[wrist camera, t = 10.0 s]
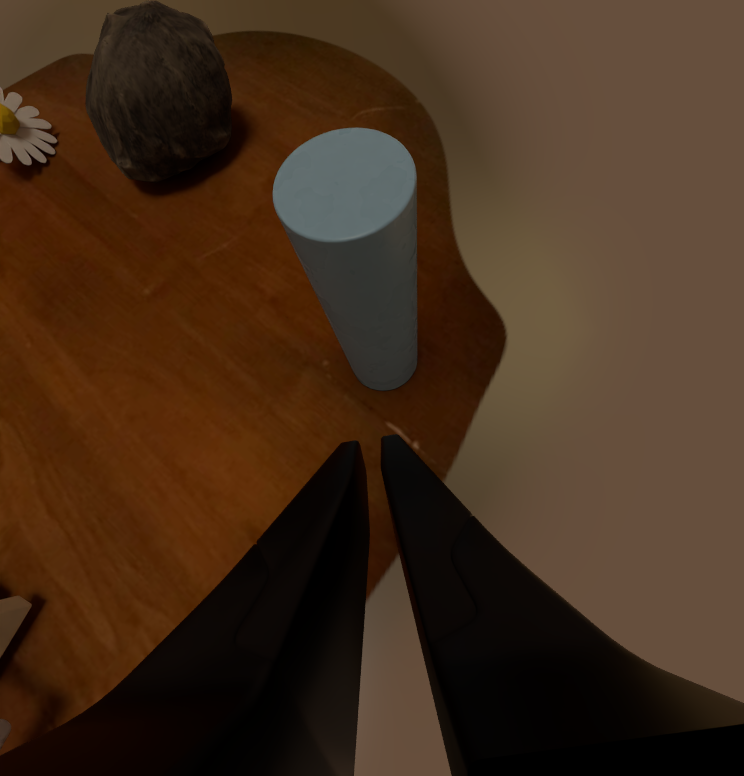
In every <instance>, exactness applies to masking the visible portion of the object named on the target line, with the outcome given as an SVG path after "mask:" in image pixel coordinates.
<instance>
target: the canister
mask: <svg viewBox="0 0 744 776" xmlns="http://www.w3.org/2000/svg"><path fill="white" fill-rule="evenodd" d="M273 203H274V207H275V210H276V212H277V215H278V217H279V219H280V221H281V223H282V225H283V227H284V229H285V231H286V233H287V235H288V237H289V240H290V242H291V244H292V246H293V248H294V250H295V252H296V254H297V256H298V258H299V260H300V262H301V264H302V266H303V268H304V271H305V273H306V275H307V277H308V279H309V281H310V283H311V285H312V287H313V289H314V291H315V293H316V295H317V297H318V299H319V302H320V304H321V306H322V308H323V310H324V312H325V314H326V316H327V318H328V320H329V322H330V324H331V326H332V328H333V330H334V333H335V335H336V337H337V339H338V341H339V343H340V345H341V347H342V349H343V351H344V353H345V355H346V357H347V359H348V361H349V364H350V366H351V368H352V370H353V372H354V374H355V376H356V377H357V379H358V380H359V381H360V382H361V383H362V384H364V385H365V386H367V387H369V388H371V389H375V390H381V391H385V390H392V389H395V388H398V387H400V386H401V385H403V384H404V383H406V382H407V381H408V380H409V379H410V378H411V376H412V375H413V373H414V371H415V369H416V365H417V178H416V168H415V164H414V162H413V159H412V157H411V155H410V154H409V152H408V151H407V149H406V148H405V147H404V146H403V145H402V144H401V143H400V142H399V141H397V140H396V139H395V138H393V137H391V136H390V135H387V134H385V133H383V132H380V131H376V130H372V129H367V128H345V129H338V130H334V131H330V132H327V133H324V134H321V135H319V136H316V137H314V138H312V139H310V140H309V141H307V142H305V143H304V144H302V145H301V146H299V147H298V148H297V149H296V150H295V151H293V152H292V153H291V154H290V155H289V156H288V157H287V159H286V160H285V161H284V163H283V164H282V166H281V167H280V169H279V171H278V173H277V175H276V178H275V181H274V185H273Z"/></svg>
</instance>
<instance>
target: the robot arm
mask: <svg viewBox="0 0 744 776" xmlns="http://www.w3.org/2000/svg"><path fill="white" fill-rule="evenodd" d="M381 471H382V476H383V481H384V485H385V490H386V495H387V500H388V504H389V509H390V514H391V519H392V523H393V528H394V533H395V538H396V542H397V547H398V551H399V555H400V559H401V563H402V568H403V572H404V576H405V580H406V585H407V589H408V593H409V597H410V601H411V605H412V610H413V614H414V618H415V622H416V626H417V631H418V635H419V639H420V643H421V648H422V652H423V656H424V661H425V665H426V669H427V673H428V677H429V681H430V686H431V690H432V694H433V699H434V702H435V707H436V711H437V715H438V720H439V724H440V728H441V732H442V736H443V740H444V745H445V749H446V753H447V758H448V762H449V766H450V770H451V774H452V776H744V703H742V702H740V701H737V700H735V699H732V698H730V697H728V696H725V695H723V694H720V693H718V692H715V691H713V690H710V689H708V688H706V687H703V686H701V685H698V684H696V683H693V682H691V681H689V680H686V679H684V678H681V677H679V676H676V675H674V674H672V673H669V672H667V671H665V670H662V669H660V668H658V667H656V666H654V665H652V664H650V663H648V662H646V661H645V660H643V659H641V658H639V657H638V656H636V655H635V654H633V653H631V652H630V651H628V650H627V649H625V648H624V647H623V646H621V645H620V644H618V643H617V642H616V641H614V640H613V639H611V638H610V637H609V636H608V635H606V634H605V633H604V632H603V631H601V630H600V629H599V628H598V627H597V626H595V625H594V624H593V623H591V622H590V620H588V619H587V618H586V617H585V616H584V615H582V614H581V613H580V612H579V611H578V610H577V609H575V608H574V607H573V606H572V605H571V604H569V603H568V602H567V601H566V600H565V599H564V598H562V597H561V596H560V595H559V594H558V593H556V592H555V591H554V590H553V589H551V588H550V587H549V586H548V585H547V584H546V583H544V582H543V581H542V580H541V579H540V578H539V577H537V576H536V575H535V574H534V573H533V572H531V571H530V570H529V569H528V568H527V567H526V566H525V565H524V564H522V563H521V562H520V561H519V560H518V559H517V558H515V556H513V555H512V554H511V553H510V552H509V551H508V550H507V549H506V548H504V547H503V545H501V544H500V543H499V541H497V540H496V538H494V537H493V535H492V534H491V533H490V532H489V531H487V529H486V528H485V527H484V526H483V525H482V524H481V523H480V522H479V521H478V520H477V519H476V518H475V517H474V516H472V514H471V512H470V511H469V510H468V509H467V508H466V507H465V506H464V505H463V504H462V503H461V502H460V501H459V499H458V498H457V497H456V496H455V495H454V494H453V493H452V492H451V491H450V490H449V489H448V488H447V486H446V485H445V484H444V483H443V482H442V481H441V480H440V479H439V478H438V477H437V476H436V475H435V474H434V472H433V471H432V470H431V469H430V468H429V467H428V466H427V465H426V464H425V463H424V462H423V461H422V460H421V458H420V457H419V456H418V455H417V454H416V453H415V452H414V451H413V450H412V449H411V448H410V447H409V445H408V444H407V443H406V442H405V441H404V440H403V439H402V438H401V437H400V436H399V435H397V434H395V435H388V436H383V437H382V438H381ZM369 540H370V528H369V509H368V491H367V475H366V469H365V464H364V460H363V456H362V451H361V447H360V444H359V442H358V441H349V442H343V443H341V444H340V445H339V446H338V447H337V448H336V450H335V451H334V452H333V453H332V454H331V455H330V457H329V458H328V459H327V460H326V461H325V462H324V464H323V465H322V466H321V467H320V468H319V469H318V471H317V472H316V473H315V474H314V475H313V476H312V477H311V479H310V480H309V481H308V482H307V483H306V484H305V486H304V487H303V488H302V489H301V490H300V491H299V493H298V494H297V495H296V496H295V497H294V498H293V500H292V501H291V502H290V503H289V504H288V505H287V507H286V508H285V509H284V510H283V511H282V512H281V514H280V515H279V516H278V517H277V518H276V519H275V521H274V522H273V523H272V524H271V525H270V526H269V528H268V529H267V530H266V531H265V532H264V533H263V535H262V536H261V537H260V538H259V539H258V540H257V545H256V544H254V545H253V546H252V547H251V548H250V550H249V551H248V552H247V553H246V554H245V555H244V557H243V558H242V559H241V560H240V561H239V562H238V563H237V564H236V566H235V567H234V568H233V569H232V570H231V571H230V572H229V573H228V574H227V576H226V577H225V578H224V579H223V580H222V581H221V582H220V583H219V584H218V585H217V586H216V587H215V588H214V589H213V590H212V592H211V593H210V594H209V595H208V596H207V597H206V598H205V599H204V600H203V601H202V602H201V603H200V604H199V605H198V606H197V607H196V608H195V609H194V610H193V611H192V612H191V613H190V614H189V615H188V616H187V617H186V618H185V619H184V620H183V621H182V622H181V623H180V624H179V625H178V626H177V627H176V628H175V629H174V630H173V631H172V632H171V633H170V634H169V635H168V636H167V637H166V638H165V639H164V640H163V641H162V642H161V643H160V644H159V645H158V646H157V647H156V648H155V649H154V650H153V651H152V652H151V653H150V654H149V655H148V656H147V657H146V658H145V659H144V660H143V661H142V662H141V663H140V664H139V665H138V666H137V667H136V668H135V669H134V670H133V671H132V672H131V673H130V674H129V675H128V676H127V677H125V678H124V679H123V680H122V681H121V682H120V683H119V684H118V685H117V686H116V687H115V688H114V689H113V690H111V691H110V692H109V693H108V694H107V695H105V696H104V697H103V698H102V699H101V700H99V701H98V702H97V703H95V704H94V705H93V706H91V707H90V708H88V709H87V710H86V711H84V712H83V713H81V714H79V715H78V716H76V717H75V718H73V719H71V720H70V721H68V722H66V723H65V724H63V725H61V726H59V727H57V728H55V729H53V730H51V731H49V732H47V733H45V734H43V735H41V736H39V737H37V738H35V739H33V740H31V741H29V742H27V743H25V744H23V745H21V746H19V747H17V748H15V749H13V750H10V751H8V752H6V753H4V754H2V755H0V776H354V764H355V749H356V735H357V721H358V705H359V691H360V676H361V661H362V646H363V632H364V617H365V615H364V614H365V602H366V587H367V572H368V557H369Z"/></svg>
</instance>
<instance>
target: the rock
mask: <svg viewBox="0 0 744 776" xmlns="http://www.w3.org/2000/svg"><path fill="white" fill-rule="evenodd" d="M224 65H225V64H224V61H223V58H222V56H221V54H220V53H219V51H218V49H217V48H216V47H215V45H214V40H213V37H212V34H211V32H210V30H209V28H208V26H207V25H206V23H204V22H203V21H202V20H200V19H198V18H196V17H194V16H192V15H190V14H187V13H183V12H179V11H177V10H175V9H172V8H170V7H168V6H166V5H163V4H161V3H160V2H158V1H149V0H148V1H145V2H142V3H141V4H140V5H138V6H132V7H127V8H121V9H119V10H116V11H115V12H114V13H113V14H112V13H107V15H106V18H105V21H104V23H103V27H102V30H101V34H100V38H99V42H98V45H97V47H96V50H95V53H94V57H93V62H92V66H91V70H90V74H89V76H88V81H87V86H86V110H87V113H88V115H89V117H90V119H91V122H92V124H93V126H94V128H95V130H96V132H97V134H98V136H99V138H100V141H101V143H102V145H103V146H104V148H105V149H106V151H107V153H108V155H109V157H110V158H111V160H112V161H113V162H114V163H115V164H116V165H117V166H118V168H119V169H120V170H121V172H122V173H123V174H124V175H125V176H126V177H127V178H128V179H136V180H141V181H149V182H154V183H157V182H159V181H161V180H164V179H166V178H169V177H171V176H172V175H177V174H179V173H180V172H181V171H185V170H190V169H191V168H193V167H194V166H195V165H196V164H197V162H199V161H200V160H201V159H206V158H208V157H209V156H211V155H213V154H215V153H217V152H218V151H220V150H222V149H224V148H225V147H226V145H227V143H228V142H229V140H230V137H231V130H232V120H231V104H232V94H231V88H230V84H229V79H228V76H227V73H226V70H225V69H224Z"/></svg>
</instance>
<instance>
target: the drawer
mask: <svg viewBox="0 0 744 776" xmlns="http://www.w3.org/2000/svg"><path fill="white" fill-rule="evenodd" d="M31 606H32V604H31V603H29V602H28V601H26V600H25V599H23V598H22V597H21V596H14V597H10V598H6V599H1V600H0V658H1V656H2V655H3V653H4V651H5V650H6V648H7V646H8V645H9V643H10V641H11V640H12V638H13V636H14V635H15V633H16V631H17V630H18V628H19V626H20V625H21V623H22V621H23V620H24V618H25V616H26V615H27V613H28V611H29V610H30V608H31ZM10 731H11V724H10V723H9V722H8V721H7V720H4V719H0V749H1V747H2V746H3V744H4V742H5V740H6V739H7V737H8V735H9V733H10Z"/></svg>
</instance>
